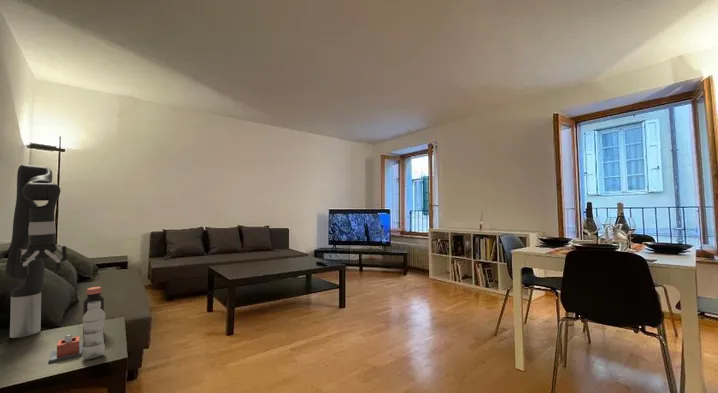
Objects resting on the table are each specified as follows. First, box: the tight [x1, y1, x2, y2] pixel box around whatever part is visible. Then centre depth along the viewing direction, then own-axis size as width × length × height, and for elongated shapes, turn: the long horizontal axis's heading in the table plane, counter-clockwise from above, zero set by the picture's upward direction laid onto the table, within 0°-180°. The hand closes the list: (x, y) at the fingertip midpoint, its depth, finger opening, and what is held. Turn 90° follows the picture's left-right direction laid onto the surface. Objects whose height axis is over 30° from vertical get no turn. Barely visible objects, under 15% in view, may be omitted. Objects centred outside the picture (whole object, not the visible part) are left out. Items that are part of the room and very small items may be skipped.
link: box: [56, 335, 80, 357], centre depth 117 cm, size 6×6×4 cm
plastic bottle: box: [81, 301, 107, 360], centre depth 114 cm, size 6×7×20 cm
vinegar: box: [82, 286, 105, 337], centre depth 136 cm, size 7×7×20 cm
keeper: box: [47, 333, 83, 365], centre depth 117 cm, size 10×10×7 cm
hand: (42, 273), depth 124 cm, fingers open, 8 cm apart
